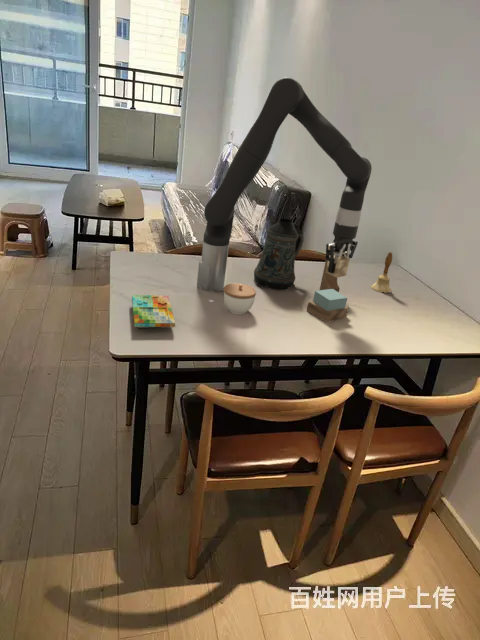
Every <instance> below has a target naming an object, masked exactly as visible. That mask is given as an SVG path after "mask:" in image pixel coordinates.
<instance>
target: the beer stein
mask: <svg viewBox="0 0 480 640" xmlns="http://www.w3.org/2000/svg"><path fill="white" fill-rule="evenodd" d="M300 228H301V226H300V225H299V224H298V223H296V222H293V221H292V219H289V218H279V220H278V221H277V222H276V223H273V224H272V225H270V226H269V227H268V228H266V236H267V237H266V240H265V243H264V247H263V249H262V253H261V255H260V258H259V261H258V263H257V265H256V266H255V268H254V270H253V276H254V278H253V279H254V283H256V284H257V285H258V286H261V287H263V288H264V289H265V288H266V289H271V290H275V291H276V290H278V291H280V290H284V291H285V290H289V289H291V288H292V287H293V285H294V283H295V281H296V274H295V261H296V258H297V256H298V255H299V253H300V251H301V249H302V247H303V244H304V235H303V234H304V233H303V232H302V230H300Z"/></svg>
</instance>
